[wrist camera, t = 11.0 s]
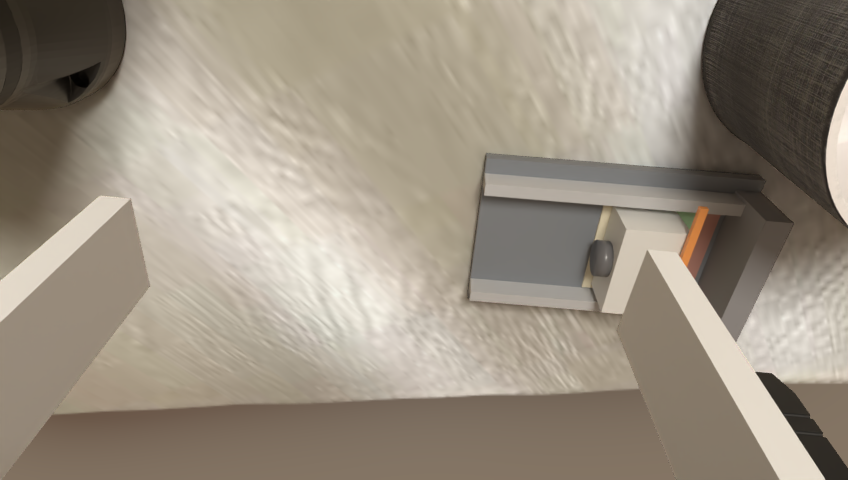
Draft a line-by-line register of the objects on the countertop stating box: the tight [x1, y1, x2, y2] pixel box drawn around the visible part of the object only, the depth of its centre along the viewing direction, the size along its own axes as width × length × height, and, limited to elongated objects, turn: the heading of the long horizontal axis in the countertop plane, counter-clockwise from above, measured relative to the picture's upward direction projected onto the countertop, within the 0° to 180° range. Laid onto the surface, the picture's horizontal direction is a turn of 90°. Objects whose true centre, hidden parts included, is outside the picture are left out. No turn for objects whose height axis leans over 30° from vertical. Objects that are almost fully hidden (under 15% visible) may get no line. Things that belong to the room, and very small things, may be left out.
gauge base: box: [468, 153, 794, 342], centre depth 45 cm, size 22×14×6 cm, turn 86°
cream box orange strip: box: [590, 206, 709, 314], centre depth 44 cm, size 6×13×5 cm, turn 176°
